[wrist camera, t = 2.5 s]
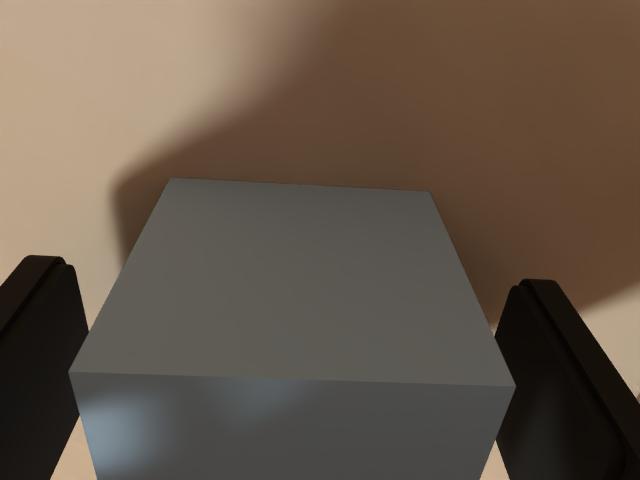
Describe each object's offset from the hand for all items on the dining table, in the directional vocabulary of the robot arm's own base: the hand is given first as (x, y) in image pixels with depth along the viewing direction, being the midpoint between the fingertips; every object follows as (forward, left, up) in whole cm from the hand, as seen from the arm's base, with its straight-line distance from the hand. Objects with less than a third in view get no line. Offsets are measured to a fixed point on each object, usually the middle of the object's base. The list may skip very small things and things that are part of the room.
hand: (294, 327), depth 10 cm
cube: (0, 0, -1) cm, 1 cm away
